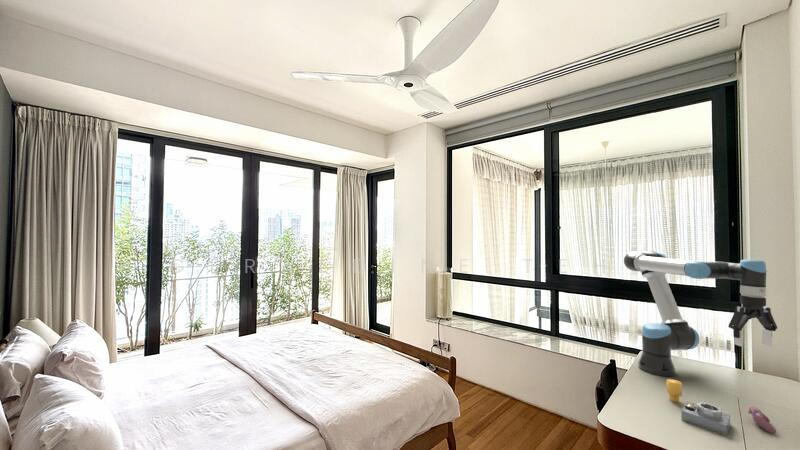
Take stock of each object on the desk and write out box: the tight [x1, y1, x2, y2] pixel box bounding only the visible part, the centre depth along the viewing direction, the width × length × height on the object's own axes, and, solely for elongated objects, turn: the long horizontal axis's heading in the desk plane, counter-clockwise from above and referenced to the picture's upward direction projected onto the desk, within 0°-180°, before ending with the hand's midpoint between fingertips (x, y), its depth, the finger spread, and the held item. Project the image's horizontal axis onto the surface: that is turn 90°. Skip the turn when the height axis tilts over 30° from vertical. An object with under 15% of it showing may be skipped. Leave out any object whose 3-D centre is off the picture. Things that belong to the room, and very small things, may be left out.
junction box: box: [681, 401, 731, 436], centre depth 119 cm, size 12×11×6 cm
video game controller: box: [747, 406, 777, 434], centre depth 118 cm, size 10×5×7 cm, turn 141°
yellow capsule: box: [666, 378, 683, 403], centre depth 135 cm, size 5×5×8 cm
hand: (752, 345), depth 136 cm, fingers open, 13 cm apart
